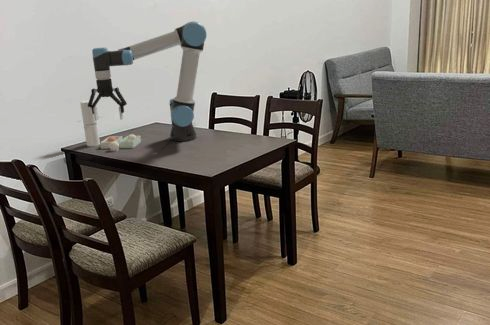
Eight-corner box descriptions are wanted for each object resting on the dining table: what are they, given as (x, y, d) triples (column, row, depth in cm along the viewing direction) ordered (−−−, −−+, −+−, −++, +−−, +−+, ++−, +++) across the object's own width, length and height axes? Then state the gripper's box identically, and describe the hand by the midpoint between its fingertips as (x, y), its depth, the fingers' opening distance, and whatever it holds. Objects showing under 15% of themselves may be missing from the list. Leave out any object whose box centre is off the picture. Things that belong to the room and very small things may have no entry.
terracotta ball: (118, 143, 272) (117, 135, 271) (115, 146, 268) (113, 137, 266) (109, 144, 273) (108, 135, 271) (106, 146, 268) (105, 137, 267)
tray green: (141, 142, 275) (140, 135, 274) (133, 148, 263) (132, 141, 261) (128, 142, 276) (127, 136, 275) (119, 149, 263) (118, 142, 262)
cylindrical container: (96, 147, 270) (89, 102, 263) (84, 147, 272) (77, 102, 265) (102, 143, 277) (96, 100, 270) (90, 143, 278) (84, 100, 271)
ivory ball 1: (121, 149, 262) (119, 140, 261) (117, 151, 257) (116, 142, 256) (112, 149, 263) (110, 140, 261) (108, 152, 258) (107, 142, 256)
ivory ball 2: (138, 141, 274) (137, 133, 273) (135, 144, 270) (134, 135, 268) (129, 142, 275) (128, 133, 273) (126, 144, 270) (125, 135, 269)
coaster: (119, 150, 262) (119, 148, 261) (117, 152, 258) (116, 150, 258) (112, 150, 262) (112, 148, 262) (110, 152, 258) (110, 150, 258)
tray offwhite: (123, 143, 276) (122, 136, 275) (114, 149, 264) (113, 142, 263) (110, 143, 277) (109, 136, 276) (101, 149, 265) (100, 142, 263)
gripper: (129, 76, 252) (134, 117, 258) (83, 78, 255) (89, 118, 261) (124, 78, 245) (130, 120, 251) (77, 80, 248) (83, 121, 254)
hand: (109, 119), depth 256 cm, fingers open, 13 cm apart
